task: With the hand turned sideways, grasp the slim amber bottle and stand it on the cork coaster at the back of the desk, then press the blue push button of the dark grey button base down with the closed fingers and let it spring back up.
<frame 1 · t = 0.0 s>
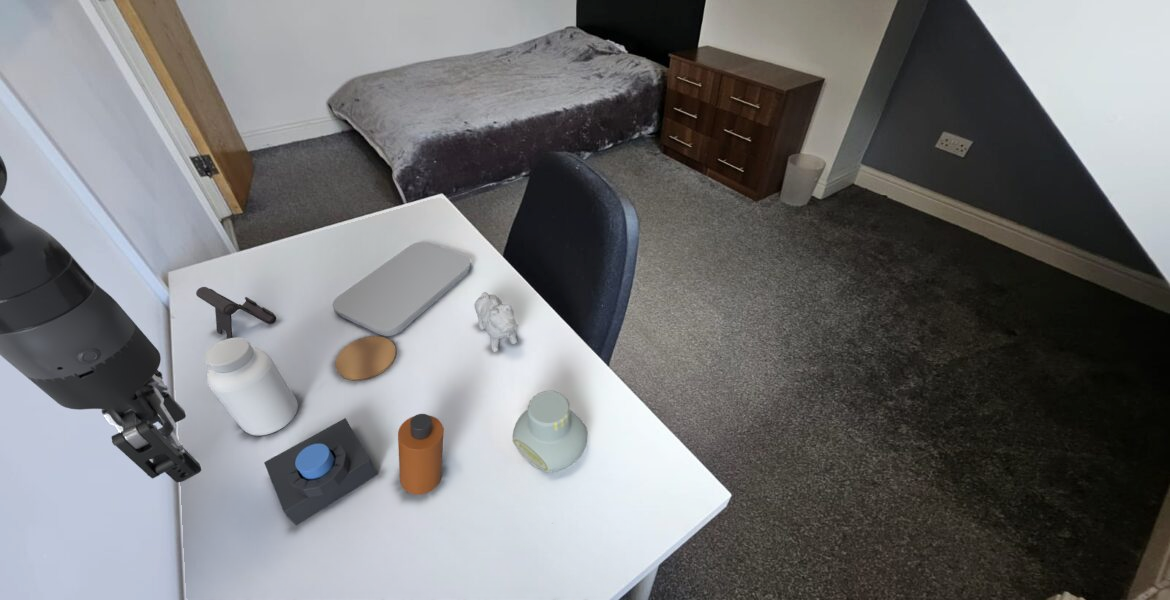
hand: (182, 446, 50), 18 cm above the table, tool pointing down, fingers open, 8 cm apart
blue push button: (315, 461, 61), point 7 cm above the table, slide at 0.1 cm
bottle: (421, 476, 66), on the table, tilted 12°
grey animal figurine: (501, 338, 88), on the table
tablet stand: (245, 325, 89), on the table
dark grey button base: (327, 475, 67), on the table
tablet: (408, 290, 98), on the table
coaster: (366, 358, 83), on the table
pill bottle: (272, 415, 74), on the table
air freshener: (550, 447, 71), on the table
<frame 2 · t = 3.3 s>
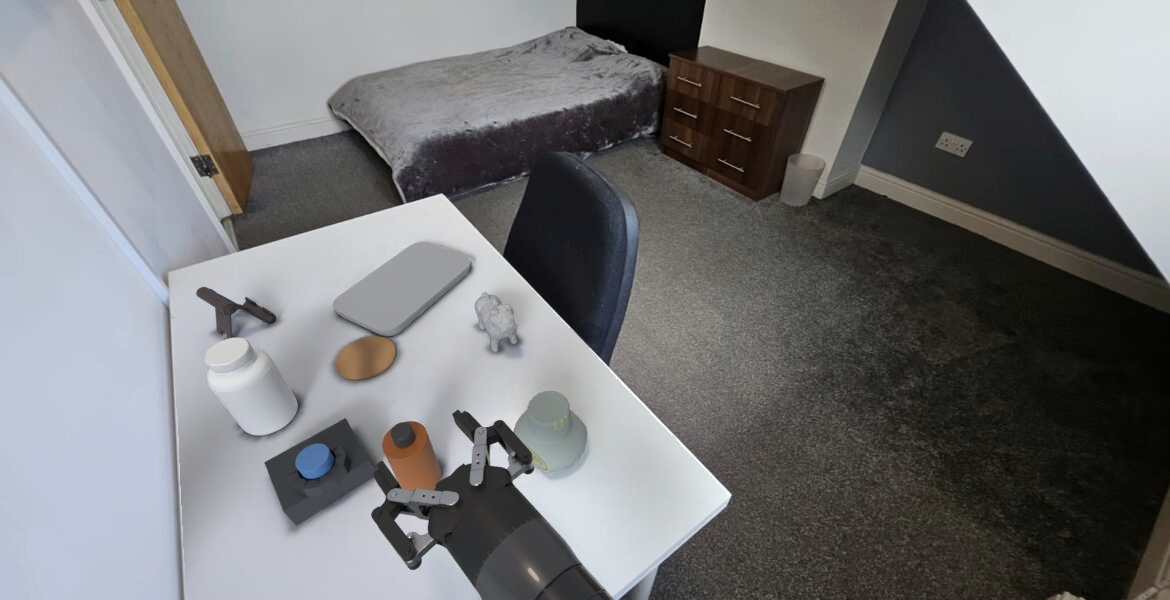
hand: (420, 440, 48), 20 cm above the table, tool horizontal, fingers open, 8 cm apart
bottle: (421, 478, 67), on the table
everything else where it was.
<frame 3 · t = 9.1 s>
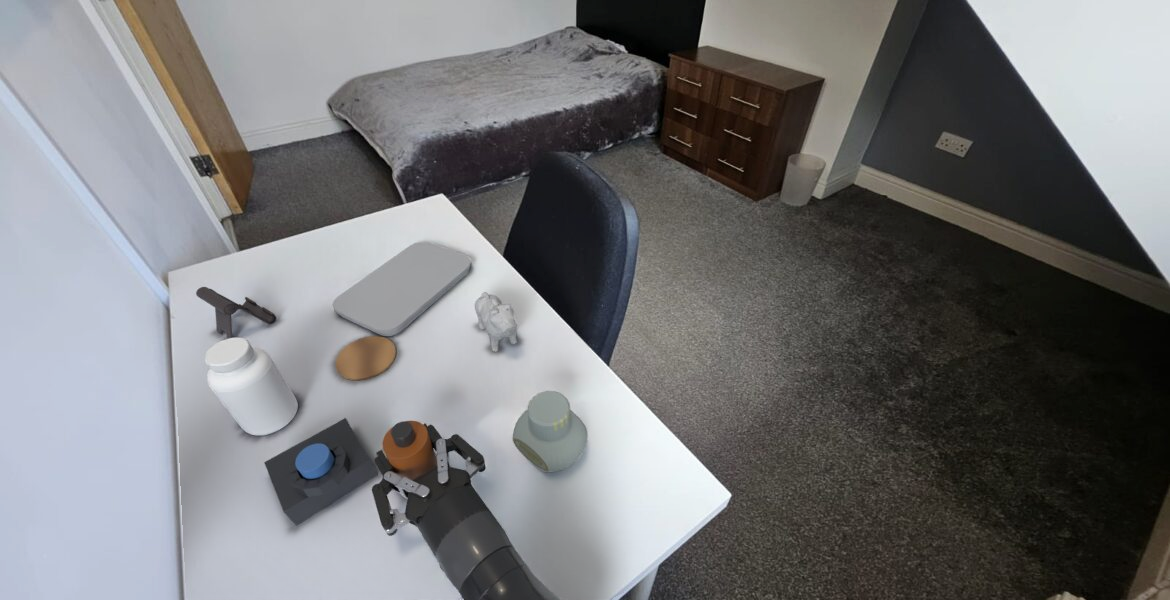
hand: (402, 441, 64), 7 cm above the table, tool horizontal, fingers closed on bottle, 5 cm apart
bottle: (421, 478, 67), on the table, touching gripper
everything else where it was.
when the fingers open (7 cm above the table, at t = 18.3 s): bottle stays where it is, resting on coaster.
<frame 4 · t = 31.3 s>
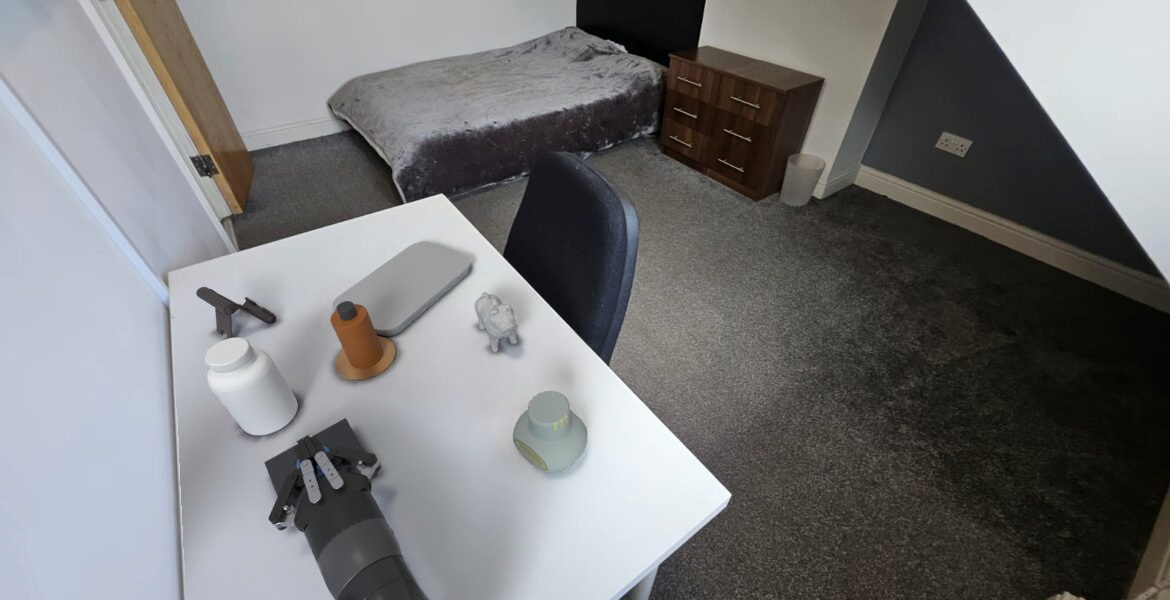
hand: (304, 441, 61), 8 cm above the table, tool horizontal, fingers closed
blue push button: (316, 463, 61), point 6 cm above the table, slide at -0.3 cm, touching gripper
bottle: (366, 356, 83), resting on coaster
everything else where it was.
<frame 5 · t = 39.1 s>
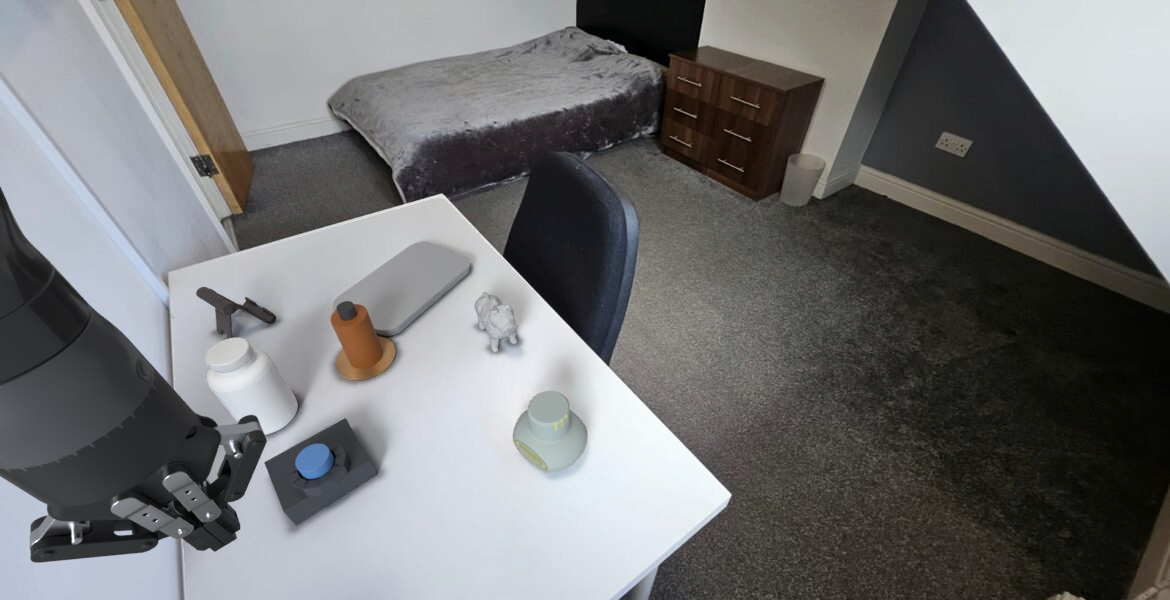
hand: (223, 536, 37), 25 cm above the table, tool pointing down, fingers closed
blue push button: (315, 461, 61), point 7 cm above the table, slide at 0.1 cm
everything else where it was.
at the end: bottle 0.1 cm off-centre on the coaster, point 0.5 cm above the coaster's base; blue push button pushed in 1.3 cm at the most during the clip, back to where it started at the end; blue push button slide at 0.1 cm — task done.
